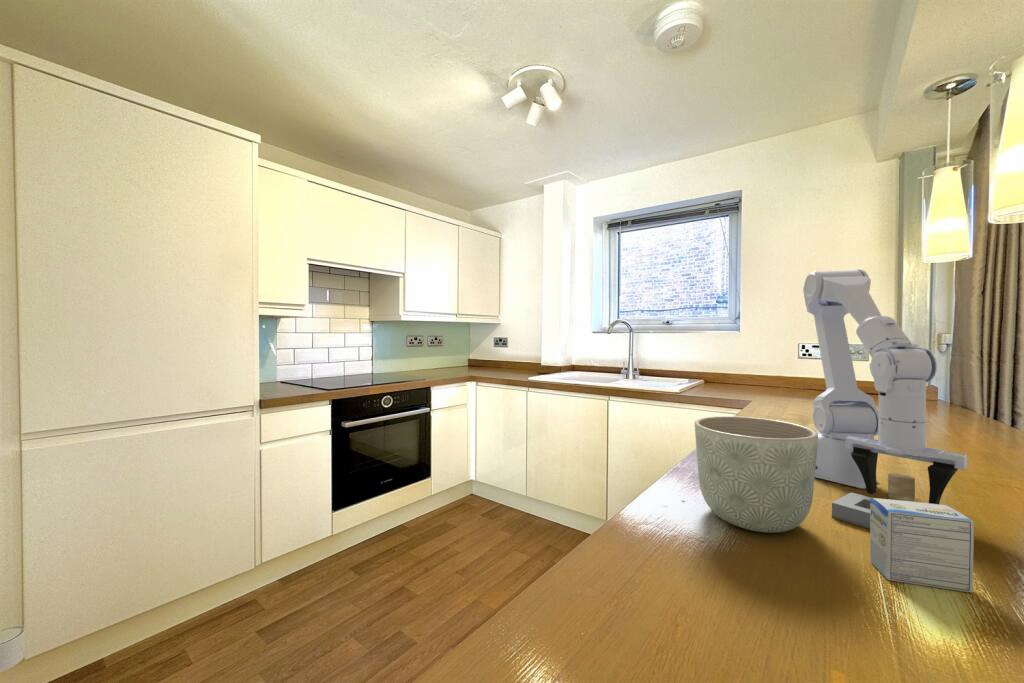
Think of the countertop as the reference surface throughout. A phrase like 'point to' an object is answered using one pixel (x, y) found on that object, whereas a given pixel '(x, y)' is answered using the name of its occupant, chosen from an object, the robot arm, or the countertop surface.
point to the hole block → (853, 509)
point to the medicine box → (922, 544)
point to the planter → (756, 471)
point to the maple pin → (901, 487)
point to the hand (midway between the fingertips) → (901, 500)
